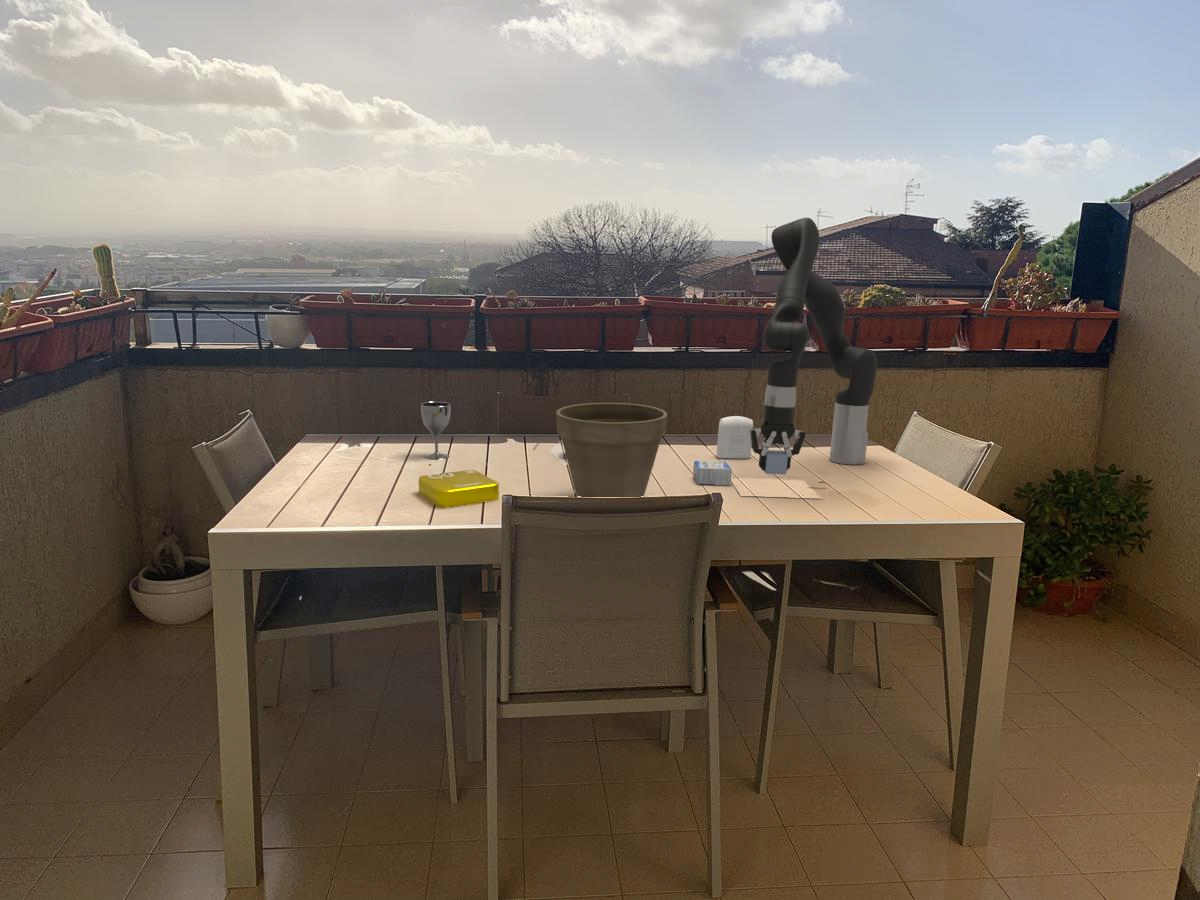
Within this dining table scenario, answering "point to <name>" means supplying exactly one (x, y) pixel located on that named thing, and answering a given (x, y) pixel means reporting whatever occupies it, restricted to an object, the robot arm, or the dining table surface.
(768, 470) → the slate-blue cube
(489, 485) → the element tile
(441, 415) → the wine glass
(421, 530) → the dining table surface
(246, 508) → the dining table surface
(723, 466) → the medicine box
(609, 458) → the plant pot
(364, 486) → the dining table surface
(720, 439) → the photo printer
